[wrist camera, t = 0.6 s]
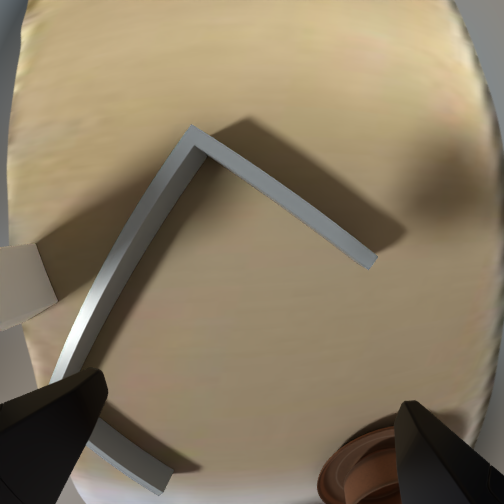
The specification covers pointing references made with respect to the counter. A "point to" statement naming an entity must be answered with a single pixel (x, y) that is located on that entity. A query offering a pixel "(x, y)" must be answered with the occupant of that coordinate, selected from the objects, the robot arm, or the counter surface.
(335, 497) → the cup and saucer
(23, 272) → the milk
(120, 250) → the u-shaped low fence
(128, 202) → the counter surface
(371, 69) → the counter surface
